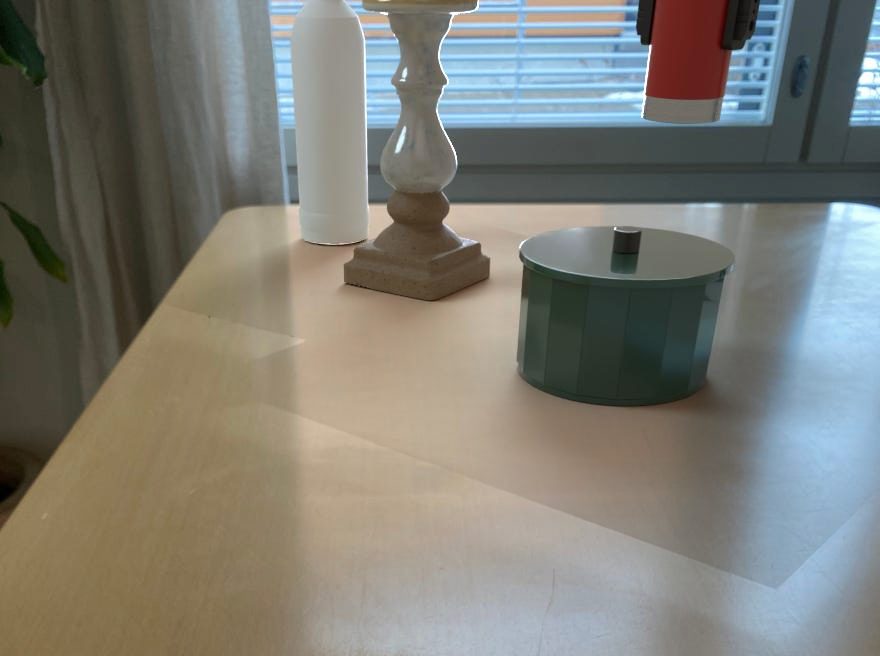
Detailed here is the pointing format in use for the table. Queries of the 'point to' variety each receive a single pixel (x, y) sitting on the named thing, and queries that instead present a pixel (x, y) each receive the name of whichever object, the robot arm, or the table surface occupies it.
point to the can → (687, 62)
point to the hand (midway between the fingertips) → (690, 46)
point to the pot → (615, 340)
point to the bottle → (330, 122)
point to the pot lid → (626, 257)
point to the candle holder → (418, 169)
